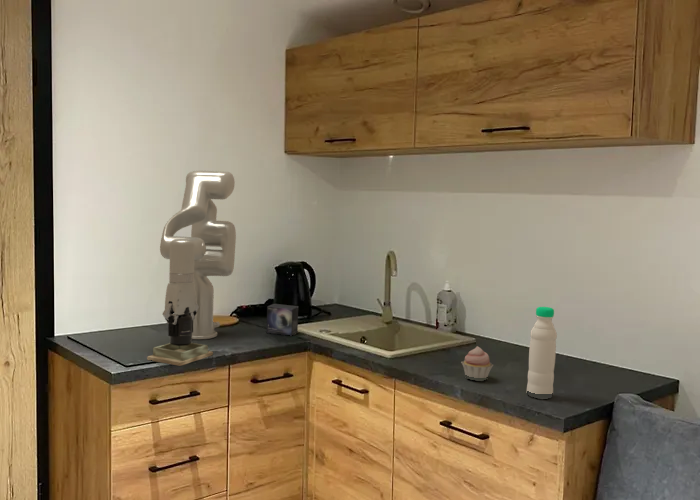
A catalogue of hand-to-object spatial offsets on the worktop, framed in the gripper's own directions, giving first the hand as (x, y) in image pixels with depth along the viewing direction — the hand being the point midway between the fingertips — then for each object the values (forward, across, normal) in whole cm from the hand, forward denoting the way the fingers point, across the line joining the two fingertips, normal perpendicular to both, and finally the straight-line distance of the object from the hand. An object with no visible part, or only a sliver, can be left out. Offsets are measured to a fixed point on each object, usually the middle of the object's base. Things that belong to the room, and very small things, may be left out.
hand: (180, 333), depth 216 cm
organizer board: (+8, 0, 0) cm, 8 cm away
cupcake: (+8, -29, +88) cm, 93 cm away
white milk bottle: (+8, -22, +108) cm, 110 cm away
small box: (+8, -48, +8) cm, 49 cm away
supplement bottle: (+3, 0, 0) cm, 3 cm away
